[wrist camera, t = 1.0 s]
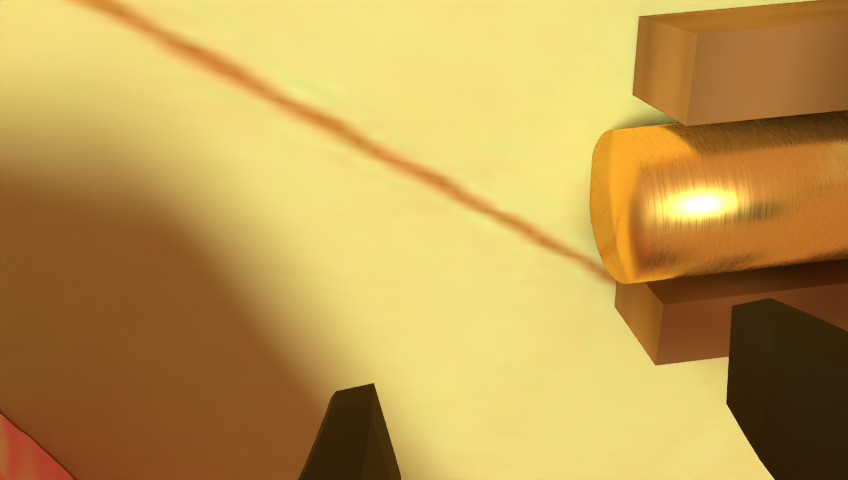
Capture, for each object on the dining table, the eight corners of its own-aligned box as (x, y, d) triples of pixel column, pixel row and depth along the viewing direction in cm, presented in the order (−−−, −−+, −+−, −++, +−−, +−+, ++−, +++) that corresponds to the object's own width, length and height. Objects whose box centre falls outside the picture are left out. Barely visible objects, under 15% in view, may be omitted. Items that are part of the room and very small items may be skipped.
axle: (937, 77, 17) (1087, 116, 14) (896, 205, 19) (1019, 269, 16) (593, 111, 17) (656, 161, 13) (585, 240, 19) (639, 314, 15)
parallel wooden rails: (1007, -17, 16) (1136, -7, 13) (910, 271, 20) (995, 323, 17) (638, 16, 16) (698, 33, 13) (614, 306, 20) (655, 365, 17)
